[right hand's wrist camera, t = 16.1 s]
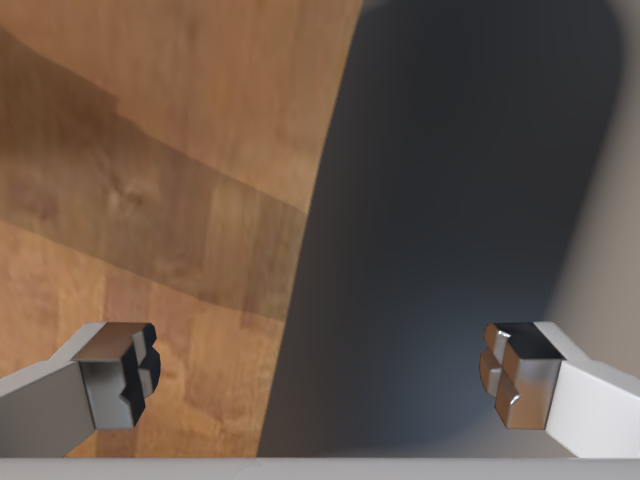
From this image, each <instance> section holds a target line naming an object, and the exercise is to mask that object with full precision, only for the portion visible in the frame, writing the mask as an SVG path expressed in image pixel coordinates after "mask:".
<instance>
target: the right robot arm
mask: <svg viewBox="0 0 640 480" xmlns="http://www.w3.org/2000/svg"><path fill="white" fill-rule="evenodd" d="M156 339H157V337H156V332H155V327H154V326H153V325H152V324H151V323H138V322H88V323H85V324H84V325H83V326H82V327H81V328H80V329H79V330H78V331H77V332H76V333H75V334H74V335H73V336H72V337H71V338H70V339H69V340H68V341H67V342H66V343H65V344H64V345H63V346H62V347H61V348H60V349H59V350H58V351H57V352H56V353H55V354H54V355H53V356H52V357H51V358H50V359H49V360H48V361H39V362H37V363H34V364H32V365H30V366H28V367H25V368H23V369H21V370H19V371H16V372H14V373H12V374H10V375H7V376H5V377H3V378H1V379H0V480H640V379H639V378H637V377H635V376H633V375H630V374H628V373H626V372H624V371H621V370H619V369H617V368H614V367H612V366H610V365H608V364H606V363H603V362H601V361H592V360H591V359H590V358H589V357H588V356H587V355H586V354H585V353H584V352H583V351H582V350H581V349H580V348H579V347H578V346H577V345H576V344H575V343H574V342H573V341H572V340H571V339H570V338H569V337H568V336H567V335H566V334H565V333H564V332H563V331H562V330H561V329H560V328H559V327H558V326H557V325H556V324H555V323H552V322H522V323H488V324H487V326H486V328H485V331H484V337H483V339H484V341H485V342H486V344H487V345H488V347H487V348H486V349H485V350H484V351H483V352H482V353H481V356H480V364H479V368H480V378H481V381H482V384H483V387H484V389H485V391H486V392H487V394H489V395H490V396H492V397H493V398H495V399H496V401H495V409H496V411H497V413H498V414H499V416H500V418H501V420H502V422H503V423H504V425H505V427H506V429H531V430H545V432H546V433H547V434H549V435H550V436H551V437H552V438H554V439H555V440H556V441H558V442H559V443H560V444H561V445H563V446H564V447H565V448H567V449H568V450H569V451H570V452H572V453H573V454H574V455H575V456H577V457H578V458H62V457H63V456H65V455H66V454H67V453H69V452H70V451H71V450H72V449H74V448H75V447H76V446H78V445H79V444H80V443H81V442H83V441H84V440H85V439H86V438H88V437H89V436H90V435H92V434H93V433H94V432H95V430H110V429H134V427H135V425H136V423H137V422H138V420H139V418H140V416H141V414H142V413H143V411H144V409H145V401H144V399H145V398H147V397H148V396H150V395H151V394H153V392H154V391H155V389H156V387H157V385H158V381H159V376H160V367H161V362H160V355H159V353H158V352H157V351H156V350H155V349H154V348H153V347H152V345H153V344H154V342H155V341H156Z"/></svg>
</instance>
